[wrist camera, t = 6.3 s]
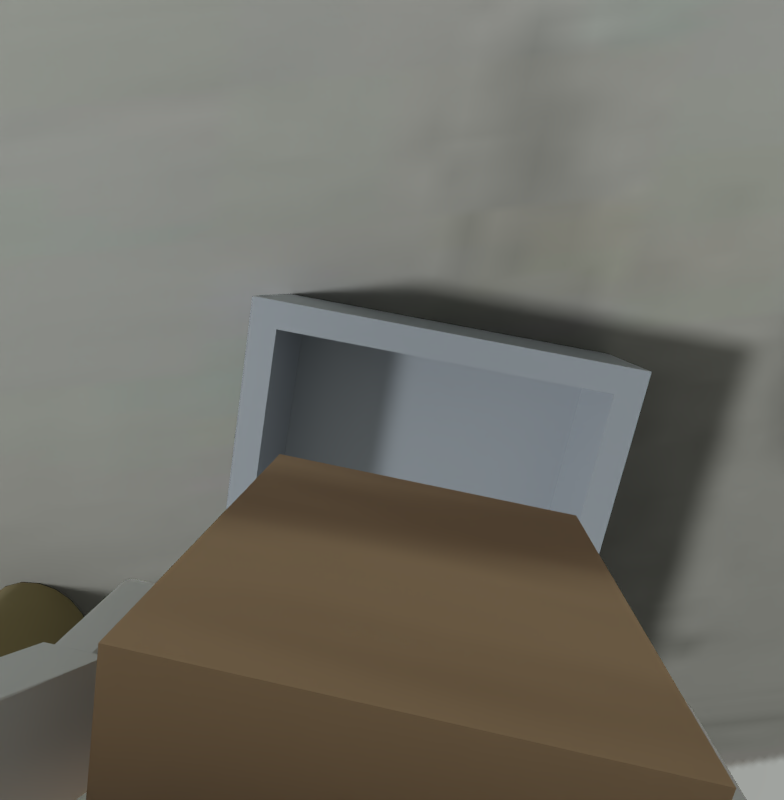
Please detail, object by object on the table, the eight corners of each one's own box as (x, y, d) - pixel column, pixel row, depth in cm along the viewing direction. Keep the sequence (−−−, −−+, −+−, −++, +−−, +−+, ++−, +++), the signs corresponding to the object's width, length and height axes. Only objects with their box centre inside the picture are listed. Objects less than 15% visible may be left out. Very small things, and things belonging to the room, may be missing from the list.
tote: (290, 293, 24) (252, 295, 19) (608, 353, 24) (651, 371, 19) (242, 646, 28) (199, 722, 23) (513, 706, 27) (528, 797, 23)
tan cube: (279, 454, 9) (98, 642, 4) (576, 515, 9) (736, 789, 4) (243, 703, 10) (64, 1079, 5) (506, 765, 10) (567, 1216, 5)
